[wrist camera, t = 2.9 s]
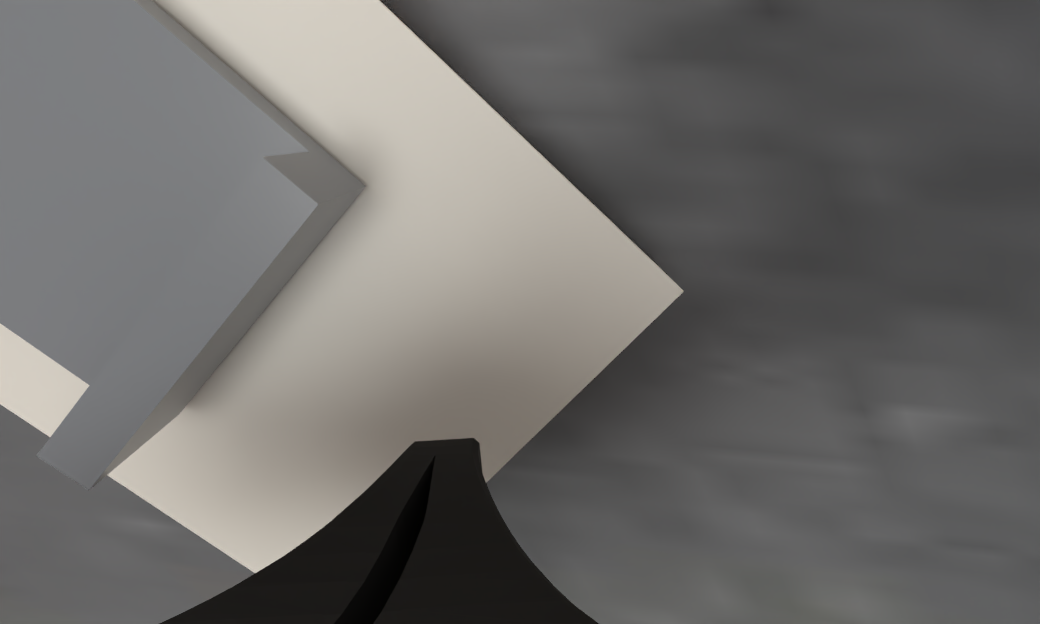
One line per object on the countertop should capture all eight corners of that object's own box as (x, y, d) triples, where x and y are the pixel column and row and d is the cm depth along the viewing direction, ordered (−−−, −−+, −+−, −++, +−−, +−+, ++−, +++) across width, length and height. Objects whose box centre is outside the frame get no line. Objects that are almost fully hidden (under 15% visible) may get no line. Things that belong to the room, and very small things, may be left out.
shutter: (366, 186, 11) (317, 203, 9) (179, 414, 13) (88, 490, 10) (58, -81, 10) (-113, -158, 7) (-112, 208, 11) (-305, 233, 9)
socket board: (656, 264, 15) (683, 291, 12) (362, 558, 17) (336, 627, 15) (88, -278, 11) (-27, -388, 9) (-170, 186, 14) (-311, 198, 12)
